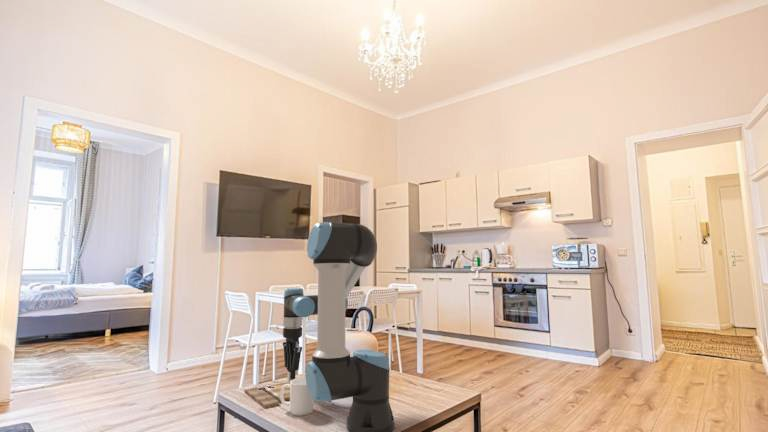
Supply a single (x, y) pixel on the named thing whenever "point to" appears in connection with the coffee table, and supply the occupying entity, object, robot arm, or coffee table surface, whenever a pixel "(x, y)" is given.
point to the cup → (298, 397)
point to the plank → (278, 391)
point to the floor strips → (261, 397)
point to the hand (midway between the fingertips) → (291, 387)
